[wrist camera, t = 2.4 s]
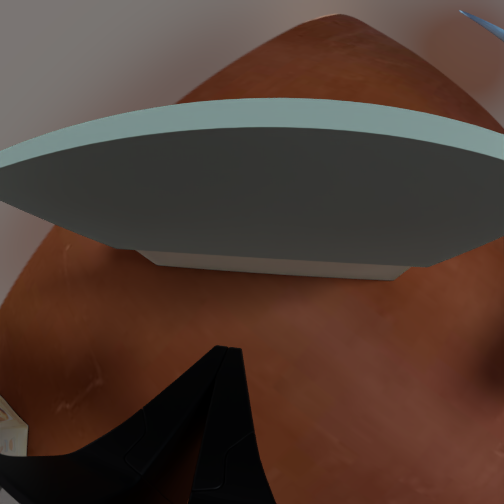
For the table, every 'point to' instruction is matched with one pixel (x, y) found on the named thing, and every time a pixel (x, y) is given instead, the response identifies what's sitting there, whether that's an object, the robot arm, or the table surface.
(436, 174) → the box lid
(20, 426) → the coffeecake box
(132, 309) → the table surface
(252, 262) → the cream box
